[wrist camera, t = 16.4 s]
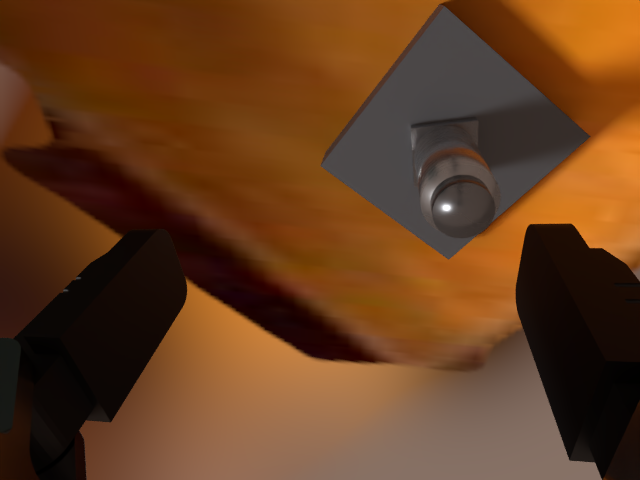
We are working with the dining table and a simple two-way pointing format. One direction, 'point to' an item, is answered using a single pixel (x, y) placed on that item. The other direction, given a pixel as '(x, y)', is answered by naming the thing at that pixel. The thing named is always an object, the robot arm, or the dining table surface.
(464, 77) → the slate block
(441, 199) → the salt shaker
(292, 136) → the dining table surface
